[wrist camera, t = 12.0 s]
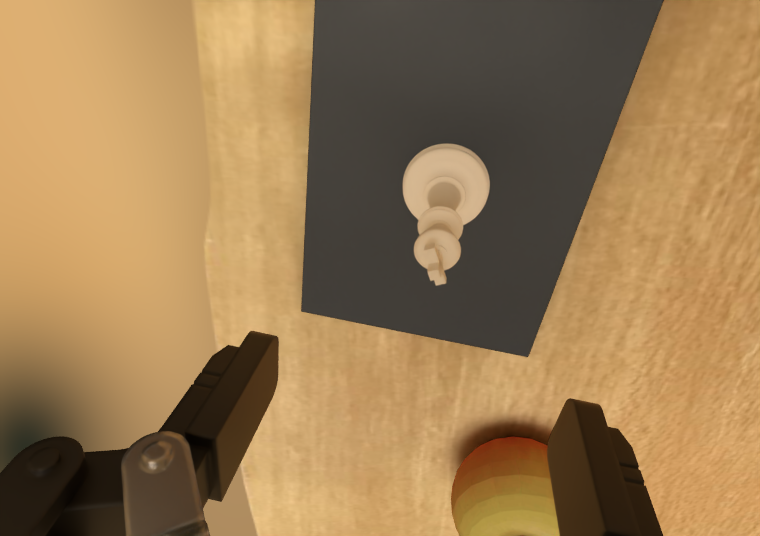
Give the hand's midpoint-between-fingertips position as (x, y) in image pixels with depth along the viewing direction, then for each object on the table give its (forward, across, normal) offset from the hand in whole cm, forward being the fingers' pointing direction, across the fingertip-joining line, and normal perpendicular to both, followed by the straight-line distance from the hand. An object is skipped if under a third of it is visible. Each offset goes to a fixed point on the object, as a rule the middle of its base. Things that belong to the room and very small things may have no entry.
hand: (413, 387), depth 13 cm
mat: (+17, 0, 0) cm, 17 cm away
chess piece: (+16, 0, 0) cm, 17 cm away
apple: (+17, -10, +22) cm, 30 cm away
